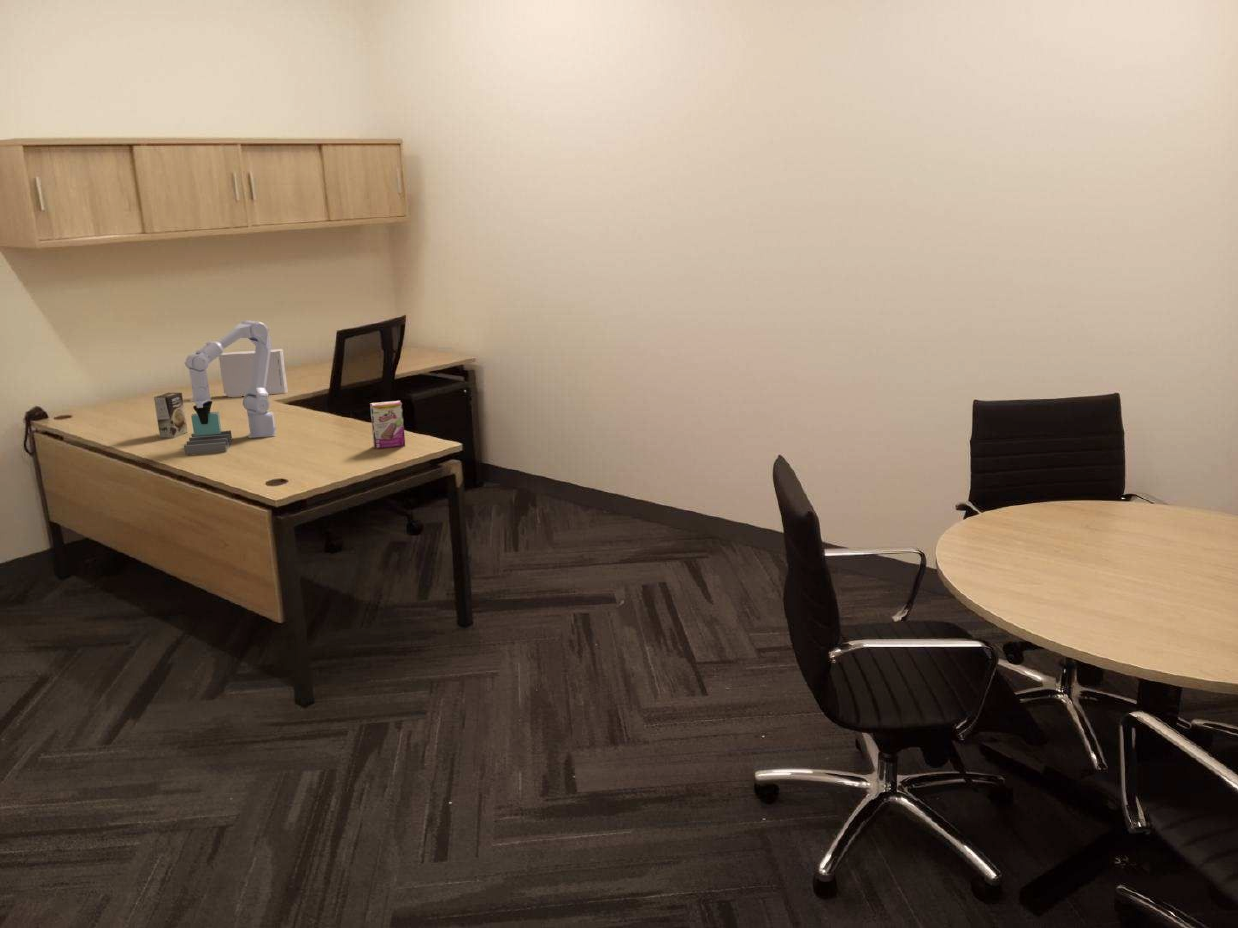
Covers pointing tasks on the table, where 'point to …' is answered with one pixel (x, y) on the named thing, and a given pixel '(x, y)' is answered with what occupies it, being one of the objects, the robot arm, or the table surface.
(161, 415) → the coffee box
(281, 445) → the table surface
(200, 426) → the tall teal block
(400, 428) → the candy bar box
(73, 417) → the table surface
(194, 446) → the rack
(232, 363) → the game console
